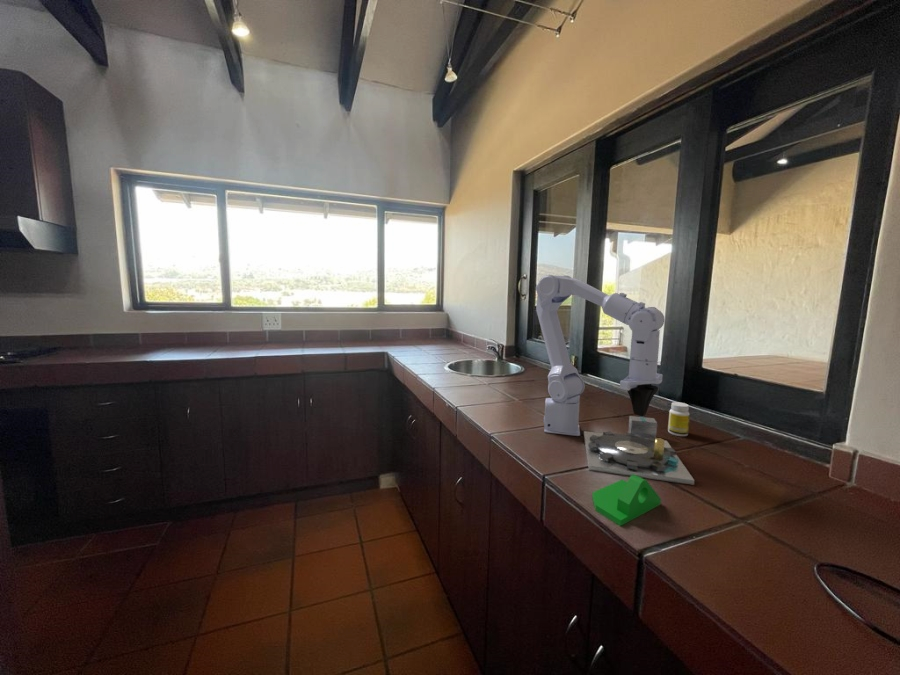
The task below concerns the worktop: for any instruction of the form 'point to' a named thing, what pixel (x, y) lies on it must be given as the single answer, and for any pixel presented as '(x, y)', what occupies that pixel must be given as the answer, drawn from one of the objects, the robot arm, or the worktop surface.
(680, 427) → the supplement bottle
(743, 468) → the worktop surface
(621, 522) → the bracket
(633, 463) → the sprocket
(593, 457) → the base plate
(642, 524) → the worktop surface
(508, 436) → the worktop surface
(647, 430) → the link block
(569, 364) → the robot arm
